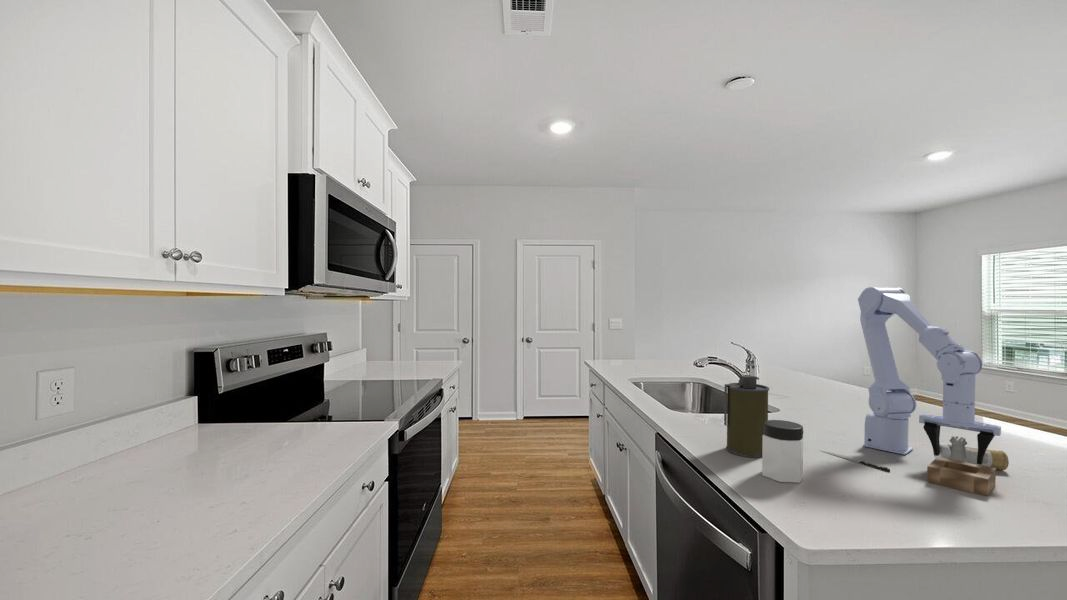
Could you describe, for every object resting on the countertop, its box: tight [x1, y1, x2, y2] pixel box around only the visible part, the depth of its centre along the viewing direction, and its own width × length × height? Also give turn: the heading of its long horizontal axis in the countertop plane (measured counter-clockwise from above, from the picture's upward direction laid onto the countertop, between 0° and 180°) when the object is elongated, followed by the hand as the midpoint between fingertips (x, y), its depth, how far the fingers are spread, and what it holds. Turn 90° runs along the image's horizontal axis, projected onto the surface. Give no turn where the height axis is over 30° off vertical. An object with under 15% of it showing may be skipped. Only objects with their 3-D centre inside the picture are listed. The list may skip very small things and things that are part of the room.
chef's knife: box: [819, 449, 891, 473], centre depth 124 cm, size 19×1×3 cm
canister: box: [723, 375, 770, 459], centre depth 129 cm, size 11×10×20 cm
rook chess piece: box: [949, 435, 968, 463], centre depth 115 cm, size 4×4×8 cm
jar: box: [761, 419, 804, 484], centre depth 111 cm, size 9×8×12 cm
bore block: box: [926, 457, 997, 497], centre depth 108 cm, size 10×10×4 cm
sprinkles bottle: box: [932, 442, 1010, 471], centre depth 118 cm, size 5×5×13 cm
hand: (957, 459), depth 115 cm, fingers open, 7 cm apart
